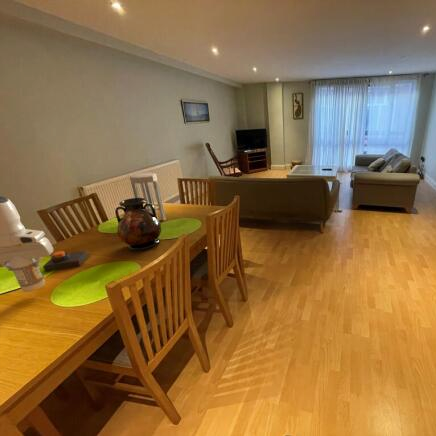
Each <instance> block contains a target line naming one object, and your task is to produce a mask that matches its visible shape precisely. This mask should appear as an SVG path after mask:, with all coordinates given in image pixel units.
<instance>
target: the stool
mask: <svg viewBox="0 0 436 436" xmlns="http://www.w3.org/2000/svg"><path fill="white" fill-rule="evenodd" d="M129 181H130V185H131V188H132V192H133V195H134V198H141V194H140V190H139V187H138V184H139V185H140V188H141V191H142V196H143V198H145V199H146V202H145V203H144V205H145V204H152V205H153V206H154V209H155V213H156V217H157V219H158V220H159V216H158V213H157V211H158V212H159V215H160V220H161V221H166V220H167V218H166V214H165V208H164V204H163V199H162V195H161V191H160V186H159V182H158V177H157V174H156V173H154V172H142V173H136V174H132V175H129ZM151 183H152V184H153V189H154V194H155V198H156V203H155V199H154V195H153V190H152V186H151ZM146 210H148V211H149V212H151V213H153V210H152V208H151V207H150V206H146Z"/></svg>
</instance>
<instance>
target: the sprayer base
mask: <svg viewBox="0 0 436 436" xmlns="http://www.w3.org/2000/svg"><path fill="white" fill-rule="evenodd" d="M64 253H65V256H63V257H60V258H55V257H54V255H52V256H51V257H50V259H49V260H48V261H46V262H45V264H44V265H43V269H44V271H45V272H52V271H57V270H64V269H71V268H76V267H77V268H78V267H81V266H82V264H83V263H84V262H85V261H86V260H87V258H88V257H89V253H88V251H87V250H82V251H75V252H68V251H67V252H66V251H64Z"/></svg>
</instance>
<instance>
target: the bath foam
mask: <svg viewBox="0 0 436 436" xmlns="http://www.w3.org/2000/svg"><path fill="white" fill-rule="evenodd" d="M35 262H37V260H35V259H34V258H30V259H24V258H21V257H18V256H16V257H13V258H12V260H11V261H9V263H10V267H11V269H12V271H11V272H12V273H13V275H14V277H15V279H16V281H17V283H18V285H19V287H20V288H21V290H22V291H23V292H33V291H35V290H36V291H37V290H38V289H41V288H42V287H44V286H45V284H46V280H45V277H44V276H43V274H42V272H41V269H40V267H35V266H34V263H35Z"/></svg>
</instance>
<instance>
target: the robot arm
mask: <svg viewBox="0 0 436 436" xmlns="http://www.w3.org/2000/svg"><path fill="white" fill-rule="evenodd" d="M45 235H46V234H45V232H44V231H43V230H37V229H29V228H25V226H24V224H23V223H22V222H21V216H20V214H19V211H18V208H17V207H16V205H15V203H13V202H12V201H11V200H10V199H9V198H8V197H5V196H0V265H1V266H2V267H4V268H6V269H7V271H8V272H13V271H12V269H11V267H10V261H11V260H12V258H13V257H16V256H18V257H21V258H24V259H30V258H34V259H35V260H36V262H35V263H34V266H35V267H39V268H40V267H41V266H42V259H43V258H44V257H45V258H46V257H49V256H51V255H52V254H53V253H54V251H55V250H54V247H53V245H52V243H51V241H50V240H49V238H47V237H45Z"/></svg>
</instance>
